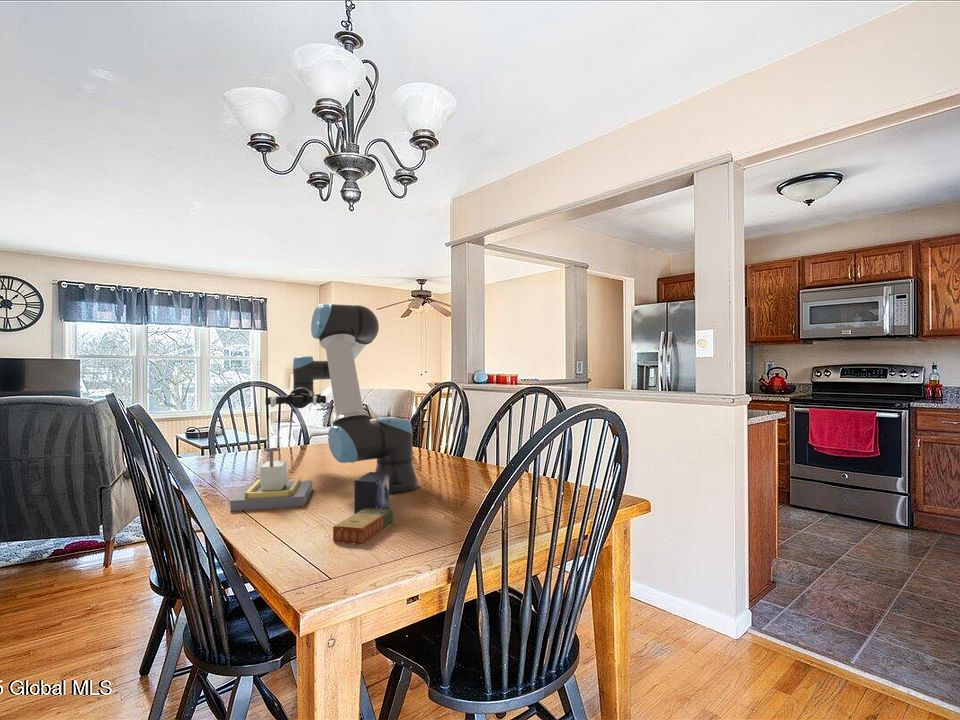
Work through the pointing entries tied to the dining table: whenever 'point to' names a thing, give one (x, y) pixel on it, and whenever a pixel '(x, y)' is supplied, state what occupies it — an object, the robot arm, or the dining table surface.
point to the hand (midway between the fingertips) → (293, 402)
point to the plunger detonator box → (273, 473)
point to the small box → (371, 491)
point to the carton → (362, 525)
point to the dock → (272, 496)
